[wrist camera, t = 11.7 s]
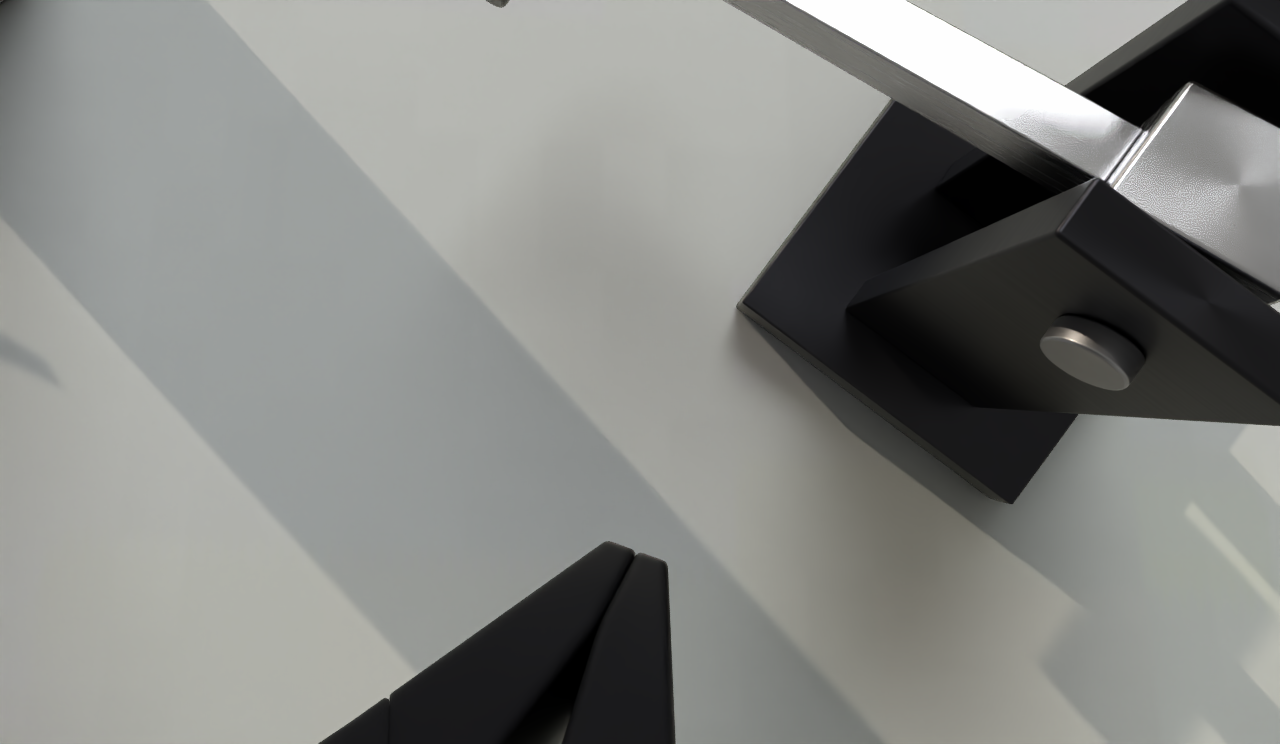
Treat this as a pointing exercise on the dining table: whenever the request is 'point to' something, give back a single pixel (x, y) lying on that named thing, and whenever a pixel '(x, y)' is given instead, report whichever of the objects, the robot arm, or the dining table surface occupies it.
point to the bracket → (1030, 275)
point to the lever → (1064, 126)
